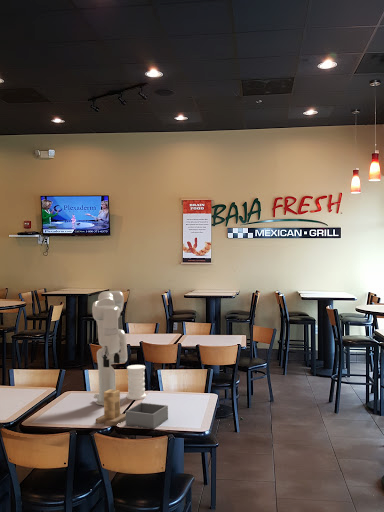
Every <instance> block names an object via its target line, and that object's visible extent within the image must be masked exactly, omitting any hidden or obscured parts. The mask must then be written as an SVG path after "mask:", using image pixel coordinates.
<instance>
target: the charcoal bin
mask: <svg viewBox="0 0 384 512" xmlns="http://www.w3.org/2000/svg"><path fill="white" fill-rule="evenodd" d="M125 414H126V420H125V426H126V425H127V426H128V427H134V426H138V427H137V428H141V427H143V428H142V429H148V428H150V430H154V429H156V428H158V427H159V426H160V425H162V424H163V423H165V422H166V421H168V420H169V405H167V404H156V403H151V402H150V403H149V402H148V403H147V402H139V403H137V404H136V405H134V406H132V407H131V408H128V409H127V410H125Z"/></svg>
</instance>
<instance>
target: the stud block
mask: <svg viewBox="0 0 384 512" xmlns="http://www.w3.org/2000/svg"><path fill="white" fill-rule="evenodd" d="M121 422H122V423H123V422H126V413H120V416H119V417H117V418H115V419H109V418H104V414H103V415H101V416H99V417H97V418H95V424H98V425H99V424H100V425H107V426H114V427H116V425H117V424H118V423H120V424H121ZM118 425H119V424H118ZM118 425H117V426H118Z"/></svg>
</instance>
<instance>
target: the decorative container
mask: <svg viewBox="0 0 384 512" xmlns="http://www.w3.org/2000/svg"><path fill="white" fill-rule="evenodd" d="M145 369H146V366H145V365H144V364H131V365H128V366H126V370H127V383H128V384H127V387H128V389H127V391H128V394H127V395H126V399H128V400H131V401H134V400H135V401H137V399H139V400H143V398H144V399H146V398H147V394H146V393H145V391H146V388H145V385H146V383H145V380H146V379H145ZM145 397H146V398H145Z"/></svg>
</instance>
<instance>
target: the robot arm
mask: <svg viewBox="0 0 384 512" xmlns="http://www.w3.org/2000/svg"><path fill="white" fill-rule="evenodd" d="M97 297H98V298H97V300H95V301H94V302H93V303H92V309H91V310H92V311H91V312H92V318H93V319H94V321H96V325H97V338H98V344H99V346H101V348H99V349H98V350H97V351H96V360H97V361H96V362H97V370H98V393H94V396H93V398H94V399H96V402H95V403H96V405H98V406H102V407H104V392H105V391H108V390H110V389H112V390H117V389H116V388H117V387H116V369H114V367H113V366H112V365H114V364H116V365H117V364H124V363H126V362H127V361H128V347H127V346H128V345H127V337H126V336H127V335H126V333H125V330H123V329H120V328H119V318H120V317H121V313H122V312H123V309H124V303H125V298H124V297H125V296H124V293H123V292H122V291H121V290H107V291H102V292H100V293H99V294H98V296H97Z"/></svg>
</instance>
